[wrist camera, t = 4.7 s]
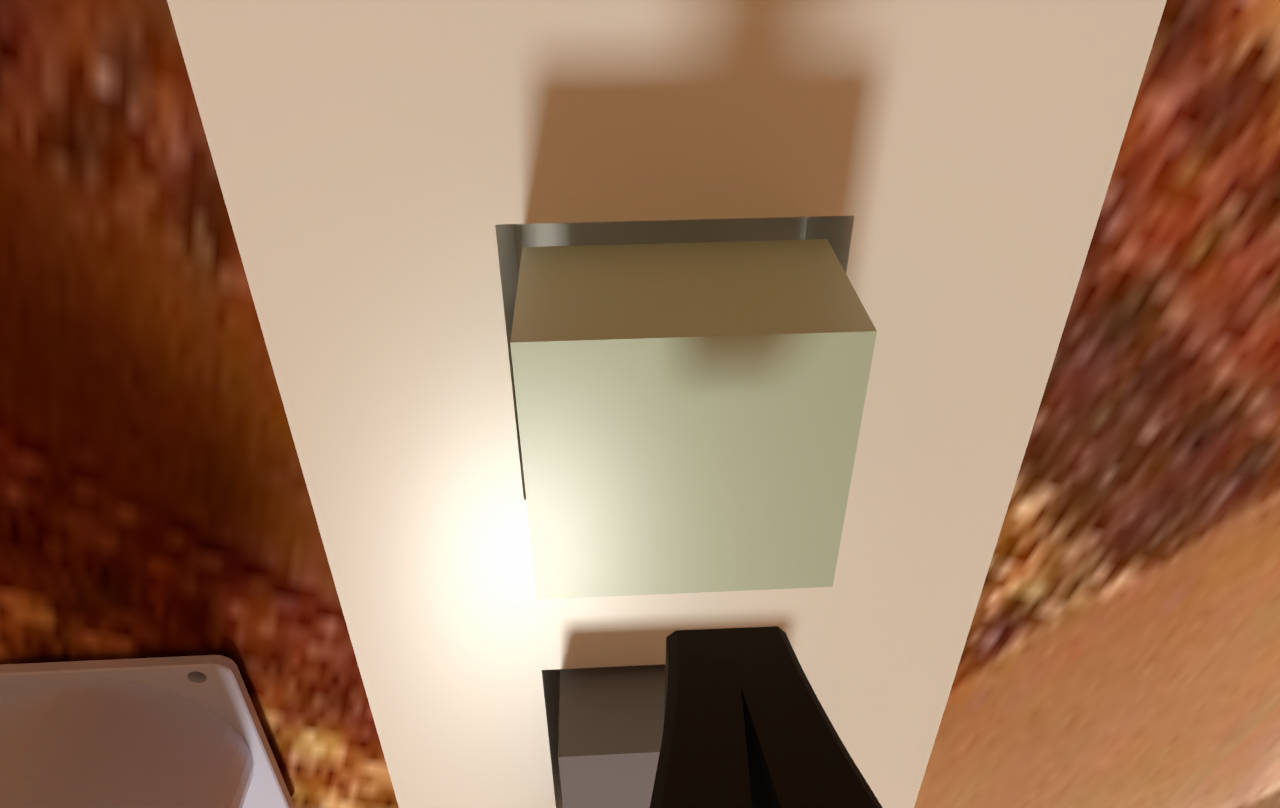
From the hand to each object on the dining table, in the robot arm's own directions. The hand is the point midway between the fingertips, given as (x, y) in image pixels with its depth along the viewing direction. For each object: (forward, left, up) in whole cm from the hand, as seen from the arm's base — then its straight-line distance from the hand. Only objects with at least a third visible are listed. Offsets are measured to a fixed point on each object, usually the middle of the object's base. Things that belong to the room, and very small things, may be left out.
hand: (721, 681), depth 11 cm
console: (0, -5, -10) cm, 12 cm away
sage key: (0, 0, -6) cm, 7 cm away
